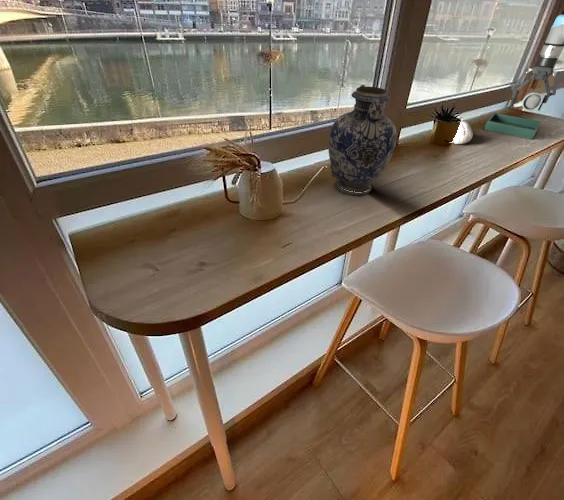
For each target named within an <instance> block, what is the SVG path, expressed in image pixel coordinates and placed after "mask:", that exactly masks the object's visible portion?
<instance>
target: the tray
mask: <svg viewBox="0 0 564 500" xmlns="http://www.w3.org/2000/svg"><path fill="white" fill-rule="evenodd" d="M540 123H541V120H535V119H529V118H525V117H519V116H514V115H508V114H503V113H497V112H493V114H491V116H490V117H489V118H488V119H487V121H486V123H485V125H484V127H483V130H484V131H489V132H494V133H500V134H504V135H508V136H514V137H519V138H522V139H528V140H533V138H534V137H535V135H536V133H537V131H538V129H539V126H540Z"/></svg>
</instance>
